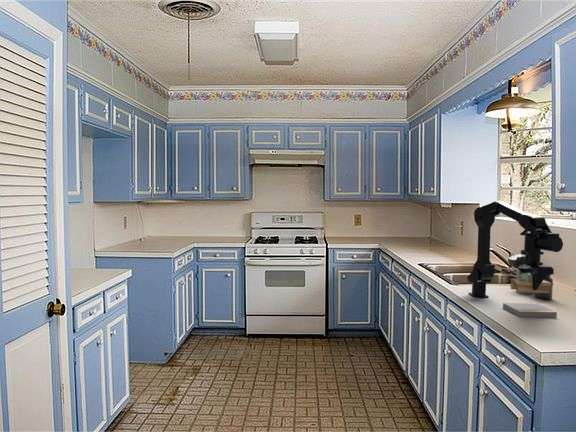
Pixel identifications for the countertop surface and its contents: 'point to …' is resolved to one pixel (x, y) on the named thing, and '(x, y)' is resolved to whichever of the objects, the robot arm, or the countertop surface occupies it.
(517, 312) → the dock
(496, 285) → the countertop surface
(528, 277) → the pale green block
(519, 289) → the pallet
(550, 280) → the supplement bottle
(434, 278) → the countertop surface
